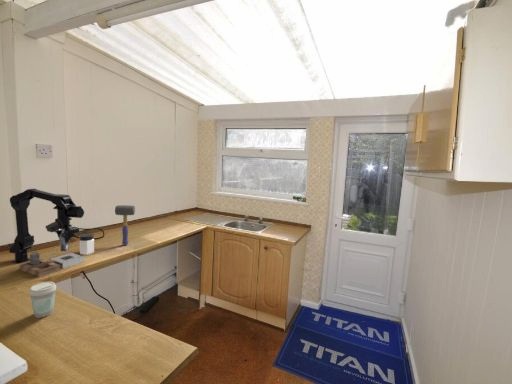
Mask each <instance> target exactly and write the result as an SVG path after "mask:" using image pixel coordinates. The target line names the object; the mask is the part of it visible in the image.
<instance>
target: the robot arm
mask: <svg viewBox="0 0 512 384" xmlns="http://www.w3.org/2000/svg"><path fill="white" fill-rule="evenodd" d="M34 198H37V199H39V200H40V199H41V200H45V201H49V202H51V203H52V204H53V205H55V206H53V208H52V209H53V210H57V211H56V213H57V214H56V215H57V217H56V218H55V219H54V222H51V223H49V224H47V225H45V229H46V231H47V232H50V233H55V234H57V237H58V239H59V240H60V233H61V231H64V232H65V233H62V234H63V235H64V238H65V243H68V242H70V240H71V238H72V236H73V235H74V234H76V233H80V228H79V227H78V226H73V225H72V224H71V221H72V218H73V219H74V218H77V219H82V218H83V217H84V215H85V211H84V209H83V208H82V205H79V206H78V205H77V204H76V203H75V202H74V201H73V199H72V197H71V196H70V195H69V194H58V193H57V194H56V193H52V192H48V191H44V190H40V189H36V188H28V189H26V190H24V191H22V192H19V193H18V194H15V195H12V196H11V197H10V198H9V203H10V206H11V208H12V209H13V210H14V213H15V223H16V236H15V238H14V241H13V245H12V246H11V247H10V248H9V249H8V251H9V253H10V254H14V259H12V260H11V262H13V263H16V264H22V263H26V262H29V261H30V257H29V256H28V253H29V252H28V250H30V249H31V250H32V246H33V245H34V243H35V236H34V235H31V234H30V233H29V220H28V208H29V206H30V204H31V203H30V202H31V200H33V199H34Z"/></svg>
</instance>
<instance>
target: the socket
mask: <svg viewBox="0 0 512 384" xmlns="http://www.w3.org/2000/svg"><path fill="white" fill-rule="evenodd" d="M49 262H53V263H56V264H59V265H60V269H65V268H68V267H71V266H74V265H76V264H77V265H78V264H81V263H83V262H85V255H84V256H83V255H81V254H77V253H73V252H70V253H65V254H61V255H59V256H56V257H52V258H49Z"/></svg>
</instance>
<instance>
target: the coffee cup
mask: <svg viewBox="0 0 512 384" xmlns="http://www.w3.org/2000/svg"><path fill="white" fill-rule="evenodd" d="M56 290H57V285H56V283H55V282H54V281H42V282H39V283H36V284H34V285H32V286H31V287H30V289H29V292H28V295H29V296H30V300H31V304H32V305H31V306H32V310H33V315H34V318H36V319H40V318H41V317H42V318H45V316H46V317H49V316H51V314H53V312H54V307H55V306H54V305H55V299H56V298H55V297H56Z"/></svg>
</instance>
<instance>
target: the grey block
mask: <svg viewBox="0 0 512 384" xmlns="http://www.w3.org/2000/svg"><path fill="white" fill-rule="evenodd" d="M62 233H65V232H64V231H61V233H60V239H59V251H60V252H66V251H69V247H70V246H69V242H70V241H69V242H68V243H65V238H64V235H63V234H62Z"/></svg>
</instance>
